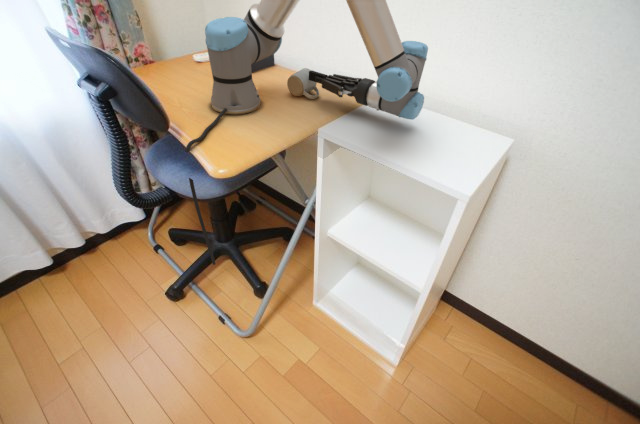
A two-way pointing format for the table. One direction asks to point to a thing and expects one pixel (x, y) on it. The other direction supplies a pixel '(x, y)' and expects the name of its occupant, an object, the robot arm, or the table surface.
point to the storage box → (263, 64)
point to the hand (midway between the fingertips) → (310, 75)
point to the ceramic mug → (302, 84)
